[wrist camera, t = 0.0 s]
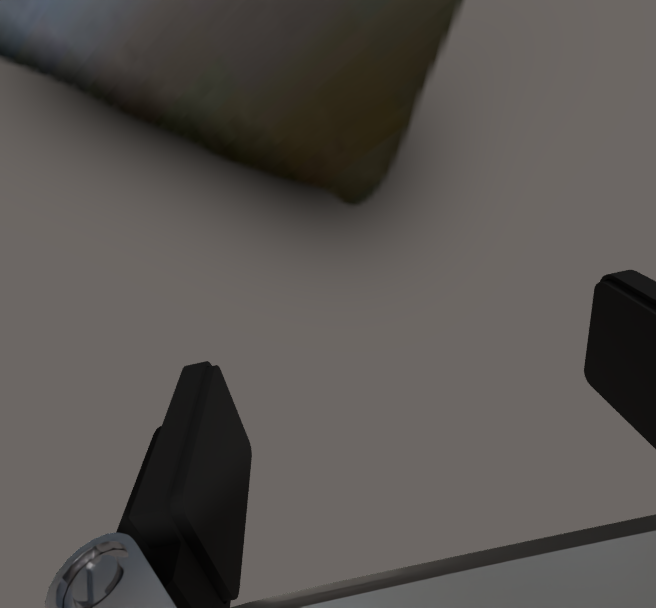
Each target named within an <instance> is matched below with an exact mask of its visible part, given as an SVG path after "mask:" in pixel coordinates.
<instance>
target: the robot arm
mask: <svg viewBox="0 0 656 608" xmlns="http://www.w3.org/2000/svg"><path fill="white" fill-rule="evenodd" d="M584 373H585V377H586V379H587V381H588V383H589V384H590V385H591V386H592V387H593V388H594V389H595V390H596V391H597V392H598V393H599V394H600V395H601V396H602V397H603V398H604V399H605V400H606V401H607V402H608V403H609V404H610V405H611V406H612V407H613V408H614V409H615V410H616V411H617V412H618V413H620V415H621V416H622V417H623V418H624V419H625V420H626V421H627V422H628V423H630V424H631V425H632V426H633V427H634V428H635V429H636V430H637V431H638V432H639V433H640V434H641V435H642V436H643V437H644V438H645V439H646V440H647V441H648V442H649V443H650V444H651V445H652V446H653V447H654V448H655V449H656V282H655V281H654V280H652V279H650V278H648V277H646V276H644V275H642V274H640V273H638V272H637V271H634V270H626V271H622V272H617V273H612V274H608V275H605V276H603V277H602V279H601V280H600V282H599V283H598V284H596V286H595V289H594V296H593V304H592V312H591V320H590V328H589V335H588V343H587V351H586V359H585V368H584ZM251 457H252V453H251V446H250V442H249V439H248V437H247V434H246V432H245V429H244V427H243V424H242V422H241V419H240V417H239V414H238V412H237V410H236V407H235V404H234V402H233V399H232V397H231V395H230V392H229V390H228V387H227V385H226V382H225V380H224V377H223V375H222V372H221V370H220V368H219V366H217V365H216V366H212V365H211V364H210V363H209V362H208V361H206V362H202V363H197V364H192V365H188V366H185V367H184V368H183V370H182V372H181V375H180V378H179V381H178V383H177V386H176V389H175V392H174V394H173V397H172V400H171V403H170V405H169V408H168V411H167V413H166V416H165V419H164V422H163V424H162V426H160V427H159V428H157V429H156V431H155V433H154V435H153V438H152V440H151V443H150V445H149V448H148V450H147V453H146V456H145V458H144V461H143V464H142V466H141V469H140V472H139V474H138V477H137V479H136V482H135V485H134V487H133V490H132V492H131V495H130V498H129V500H128V503H127V506H126V508H125V511H124V513H123V516H122V519H121V521H120V524H119V527H118V529H117V532H116V533H110V534H105V535H103V536H100V537H98V538H96V539H93V540H92V541H90V542H89V543H87V544H85V545H84V546H82V547H81V548H80V549H78V550H77V551H76V552H75V553H74V554H73V555H72V556H71V557H70V558H69V559H67V561H66V562H65V563H64V565H63V566H62V567H61V568H60V569H59V571H58V572H57V573H56V575H55V577H54V579H53V581H52V583H51V585H50V586H49V589H48V592H47V596H46V600H45V608H230V601H231V600H235V599H237V597H238V594H239V588H240V576H241V565H242V555H243V545H244V534H245V523H246V512H247V500H248V491H249V480H250V469H251ZM231 608H656V514H655V515H650V516H646V517H641V518H635V519H631V520H626V521H621V522H617V523H612V524H607V525H602V526H597V527H592V528H587V529H583V530H578V531H573V532H568V533H564V534H559V535H554V536H550V537H544V538H540V539H535V540H531V541H525V542H521V543H516V544H512V545H506V546H502V547H497V548H492V549H487V550H483V551H478V552H473V553H468V554H464V555H459V556H455V557H450V558H445V559H441V560H436V561H432V562H427V563H422V564H418V565H413V566H408V567H403V568H399V569H394V570H390V571H385V572H380V573H376V574H371V575H366V576H362V577H357V578H352V579H348V580H343V581H339V582H334V583H330V584H326V585H321V586H317V587H313V588H309V589H304V590H300V591H296V592H291V593H287V594H283V595H279V596H274V597H270V598H266V599H262V600H257V601H253V602H249V603H245V604H242V605H238V606H235V607H231Z"/></svg>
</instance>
